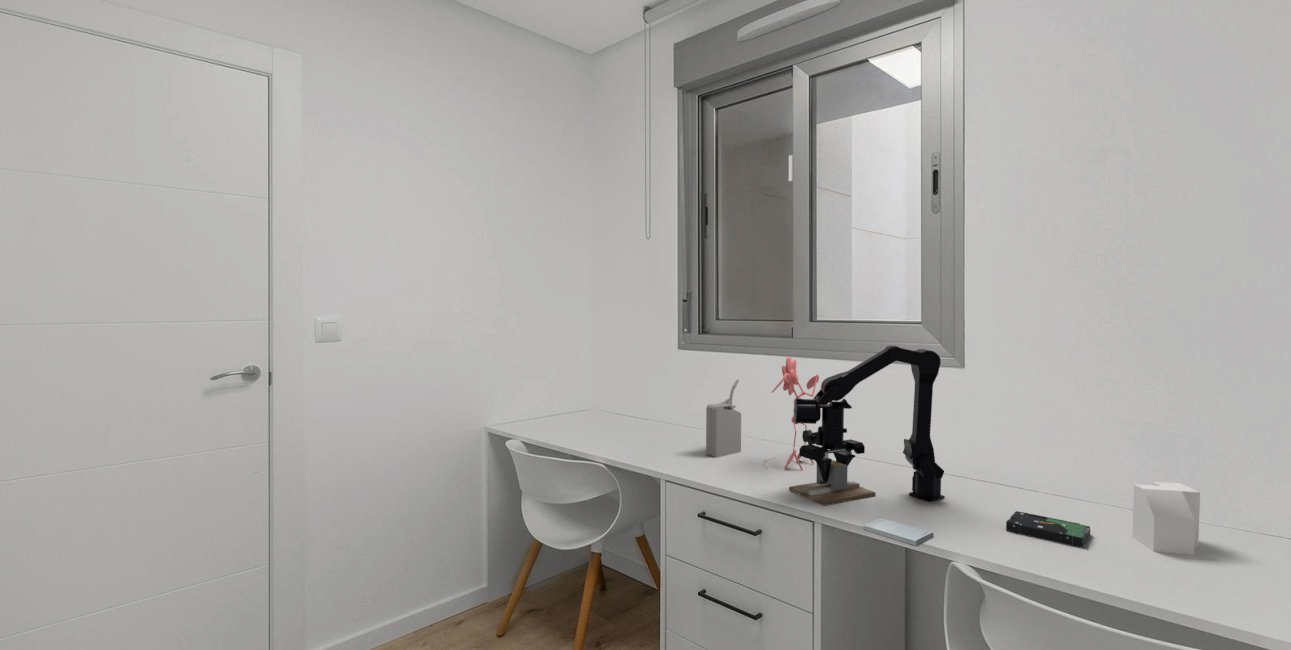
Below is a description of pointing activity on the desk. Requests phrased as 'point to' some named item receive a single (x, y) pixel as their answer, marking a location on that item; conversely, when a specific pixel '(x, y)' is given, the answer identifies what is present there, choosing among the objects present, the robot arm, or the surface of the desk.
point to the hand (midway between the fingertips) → (831, 480)
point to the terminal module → (835, 476)
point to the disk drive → (1048, 529)
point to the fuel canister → (723, 428)
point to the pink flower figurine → (789, 381)
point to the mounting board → (832, 492)
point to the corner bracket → (1166, 517)
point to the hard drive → (898, 531)
